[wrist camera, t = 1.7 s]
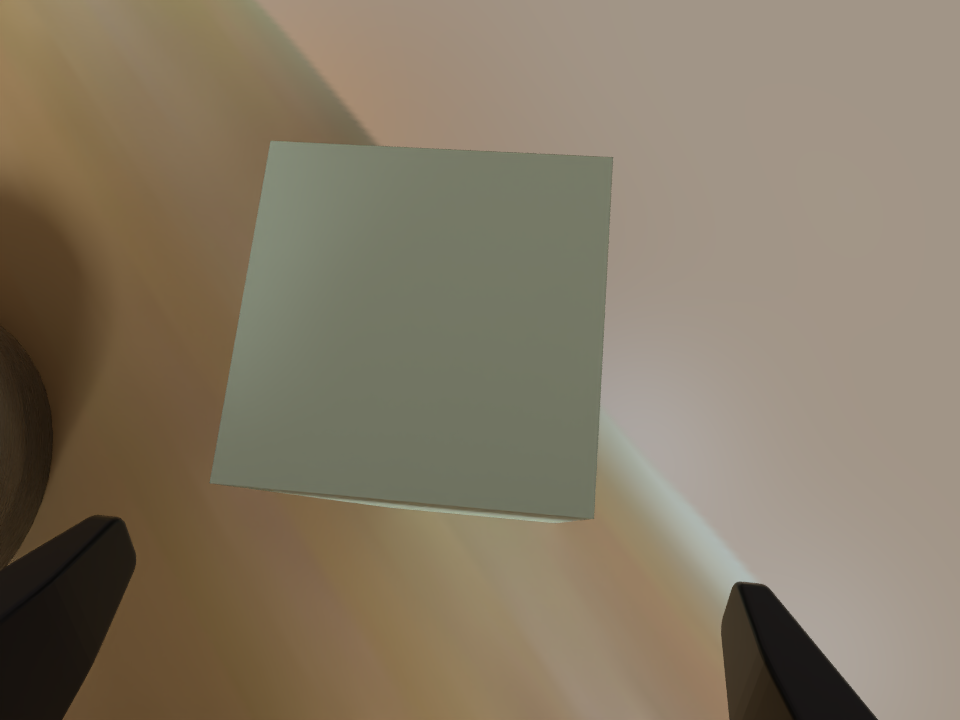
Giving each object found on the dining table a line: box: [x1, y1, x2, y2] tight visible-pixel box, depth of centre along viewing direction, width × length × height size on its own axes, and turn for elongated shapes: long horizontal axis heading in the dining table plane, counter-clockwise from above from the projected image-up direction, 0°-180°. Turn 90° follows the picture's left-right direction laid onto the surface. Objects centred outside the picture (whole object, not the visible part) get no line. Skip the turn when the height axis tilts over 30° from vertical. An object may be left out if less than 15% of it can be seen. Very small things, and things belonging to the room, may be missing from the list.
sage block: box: [210, 141, 613, 523], centre depth 15 cm, size 5×5×12 cm
